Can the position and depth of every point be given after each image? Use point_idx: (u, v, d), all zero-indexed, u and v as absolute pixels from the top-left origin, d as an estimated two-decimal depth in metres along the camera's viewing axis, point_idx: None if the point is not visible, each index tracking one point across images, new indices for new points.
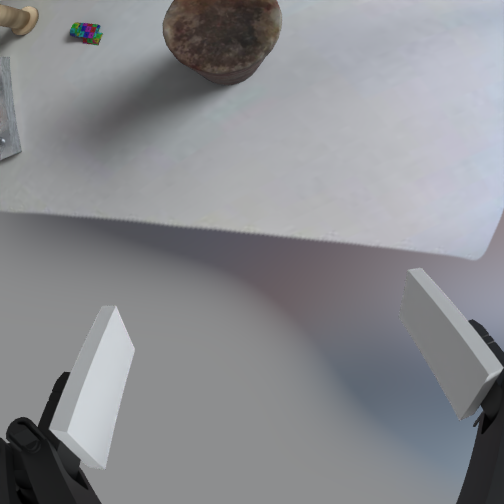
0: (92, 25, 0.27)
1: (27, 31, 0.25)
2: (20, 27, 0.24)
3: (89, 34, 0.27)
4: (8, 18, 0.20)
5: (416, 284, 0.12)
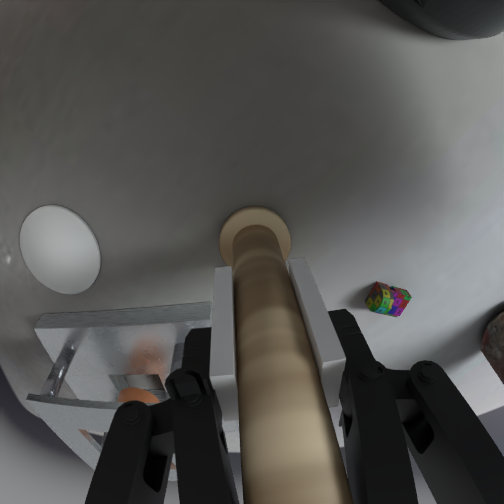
0: (404, 297, 0.22)
1: None
2: None
3: (397, 310, 0.23)
4: None
5: (292, 273, 0.14)
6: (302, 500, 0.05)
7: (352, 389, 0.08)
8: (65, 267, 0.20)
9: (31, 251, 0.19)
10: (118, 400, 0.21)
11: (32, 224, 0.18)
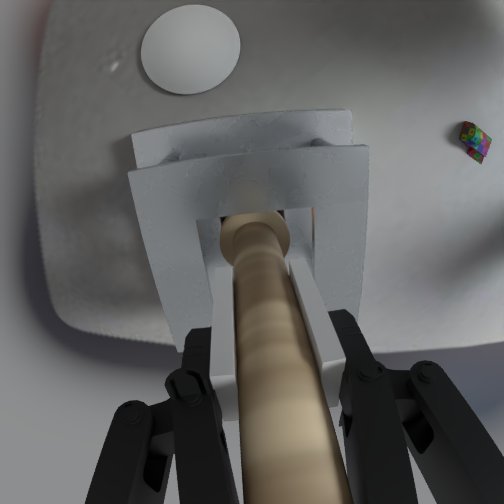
0: (487, 137, 0.21)
1: None
2: None
3: (483, 149, 0.22)
4: None
5: (292, 273, 0.14)
6: (300, 486, 0.05)
7: (352, 389, 0.08)
8: (195, 62, 0.18)
9: (155, 48, 0.18)
10: None
11: (167, 20, 0.17)
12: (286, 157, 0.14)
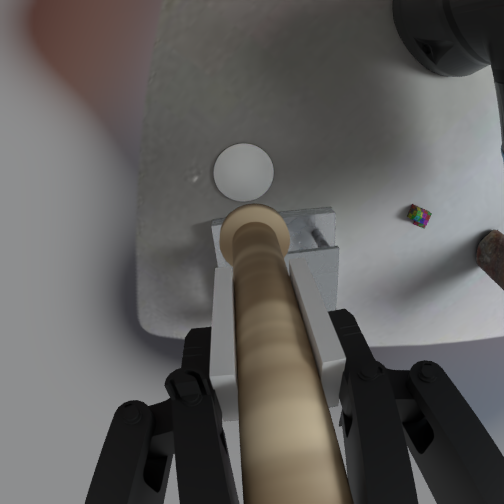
0: (427, 213, 0.39)
1: None
2: None
3: (424, 221, 0.40)
4: None
5: (292, 273, 0.14)
6: (300, 486, 0.06)
7: (352, 389, 0.08)
8: (247, 182, 0.37)
9: (223, 171, 0.36)
10: None
11: (229, 153, 0.35)
12: (299, 255, 0.33)
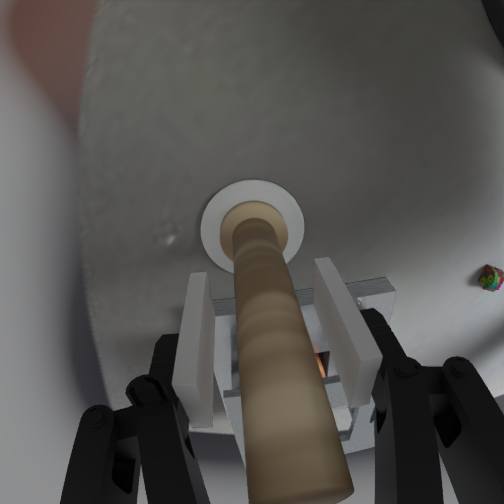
0: (502, 275, 0.24)
1: None
2: None
3: (497, 285, 0.25)
4: None
5: (318, 272, 0.14)
6: (301, 463, 0.06)
7: (389, 384, 0.08)
8: None
9: (216, 229, 0.21)
10: None
11: (228, 198, 0.20)
12: None
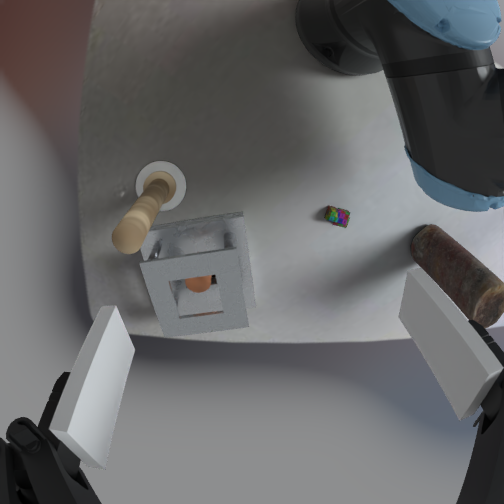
0: (345, 213, 0.44)
1: (166, 202, 0.41)
2: None
3: (343, 221, 0.45)
4: None
5: (417, 284, 0.12)
6: (125, 221, 0.25)
7: None
8: None
9: None
10: None
11: (147, 171, 0.39)
12: (201, 256, 0.37)
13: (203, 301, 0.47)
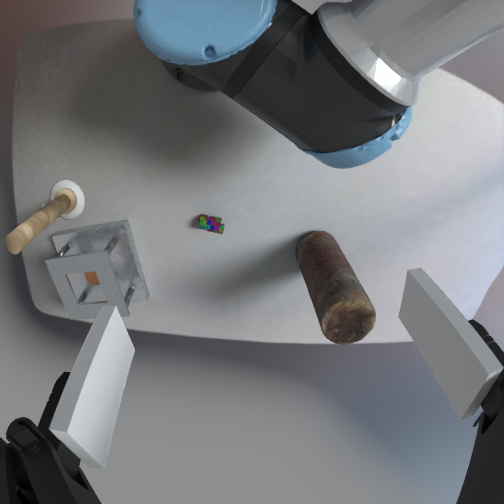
0: (216, 220, 0.49)
1: (70, 212, 0.46)
2: None
3: (215, 228, 0.50)
4: (56, 216, 0.41)
5: (416, 284, 0.12)
6: (12, 231, 0.31)
7: None
8: None
9: None
10: None
11: (57, 187, 0.45)
12: (83, 256, 0.43)
13: None
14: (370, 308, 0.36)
